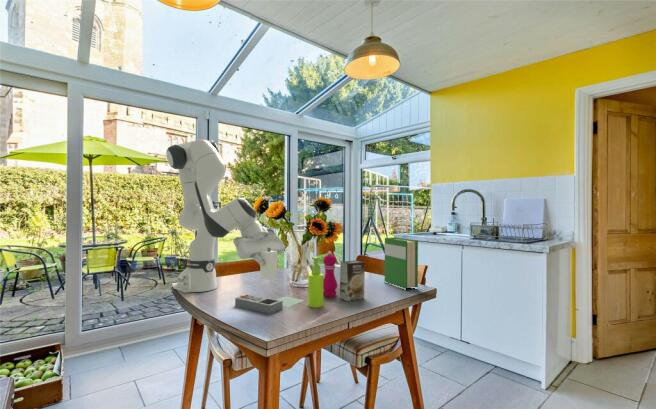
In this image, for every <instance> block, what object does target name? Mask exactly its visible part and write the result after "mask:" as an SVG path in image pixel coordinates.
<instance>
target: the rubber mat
mask: <svg viewBox="0 0 656 409" xmlns="http://www.w3.org/2000/svg"><path fill="white" fill-rule="evenodd" d="M275 300H280V301H283V307H286V308H289V307H290V308H291V307H293V306H295V305H297V304H301V303H302V302H304V301H306V299H300V298H295V297H291V296H282V297H279V298H277V299H275Z"/></svg>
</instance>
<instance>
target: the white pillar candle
mask: <svg viewBox="0 0 656 409" xmlns="http://www.w3.org/2000/svg"><path fill="white" fill-rule="evenodd" d="M260 258H261V259H262V260H263V259H264V261H265V265H264V266H260V265H259V266H260V269H259V270H260V276H259V278H260V279H264V280H270V281H271V280H273V279H277V278H278V263H279V262H278V260H279V259H278V251H271V247H268V251H262V252H261V257H260Z"/></svg>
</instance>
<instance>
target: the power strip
mask: <svg viewBox="0 0 656 409" xmlns="http://www.w3.org/2000/svg"><path fill="white" fill-rule="evenodd" d="M234 299H235V301H234V304H235V305H234V306H235V307H239V308H243V309H247V310H251V311H255V312H260V313H263V314H268V315H271V314H274V313H277V312H279V311H281V310H283V309H284V308H283V307H284V306H283V301H280V300H276V299H274V298H268V297H265V296H260V295H256V294H254V295H253V294H249V293H248V294H247V293H244V294H241V295H240V296H237V297H235V298H234Z"/></svg>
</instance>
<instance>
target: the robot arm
mask: <svg viewBox="0 0 656 409" xmlns="http://www.w3.org/2000/svg"><path fill="white" fill-rule="evenodd" d="M165 154H166V161H167V163H168V164H169V166H170V168H172V169H174V170H178V175H179V182H180V185H181V189H182V194H183V209H182V211H181V212H180V213H179V216H178V223H179V225H180V226H181V227H182V228H183V229H185V230H189V231H197V234H196V236H195V237H194V239H193V240H191V242H190V243H189V259H188V260H187V261H186V264H187V265H186V268H185V269H184V270H183V271H182V272H181V273H179V275H178V276H177V283H176V284H173V286H172V285H171V288H172V287H173V288H172V289H175V290H177V291H179V292H182V293H188V294H189V293H199V292H200V293H202V292H210V291H213V290H216V289H217V288H218V285H219V283H218V282H217V272H216V268H215V265H216V259H215V244H216V239H217V238H221V239H223V238H224V237H226V236H227V235H228V234H229V233H230V232H232V231H234V230H235V229H236V228H237V229H238V230H239V232H240V235H241V236H237V237H235V238H233V244H234V246H235V250H236V253H237V255H238V257H239V258H240V259H241V260H248V259H249V260H250V259H253V260H254V261H255V262H256V263H257V264H259V266H264V265H265V261H264V259H263V260H262V259H261V252H262V251H268V247H271V251H278V255H282V254H283V253H284V251H285V250H286V246H285V243H284V242H283V240H282V239H281V238H280V236H278V235H277V231H276V230H275V229H273V228H268V227H265V226H263V225H262V224H261V223H260V222H259V221H258V216H257V212H256V210H255V208H254V207H253V205H252V203H251V202H250V201H249V199H247V198H243V197H238V196H237V197H236V198H234V199H233V200H231V201H229V202H227V203H226V204H225V205H224V206H222V207H219V208H218V209H217V208H215V207H214V203H213V200H212V193H213V192H214V190H215V188H216V187H217V185H218V184H220V183H221V181H222V180H223V178H224V176H225V175H226V170H227V169H226V168H227V166H226V164H225V162H224V160H223V158H222V156H221V154H220V149H219V147H218V144H217V143H216V142H215V141H214V140H211V139H204V138H199V139H196V140H193V141H192V140H191V141H189V142H184V143H179V144H173V145H170V146H169V147H168V148H167V149H166V153H165ZM279 262H280V261H279V259H278V263H279Z"/></svg>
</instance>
